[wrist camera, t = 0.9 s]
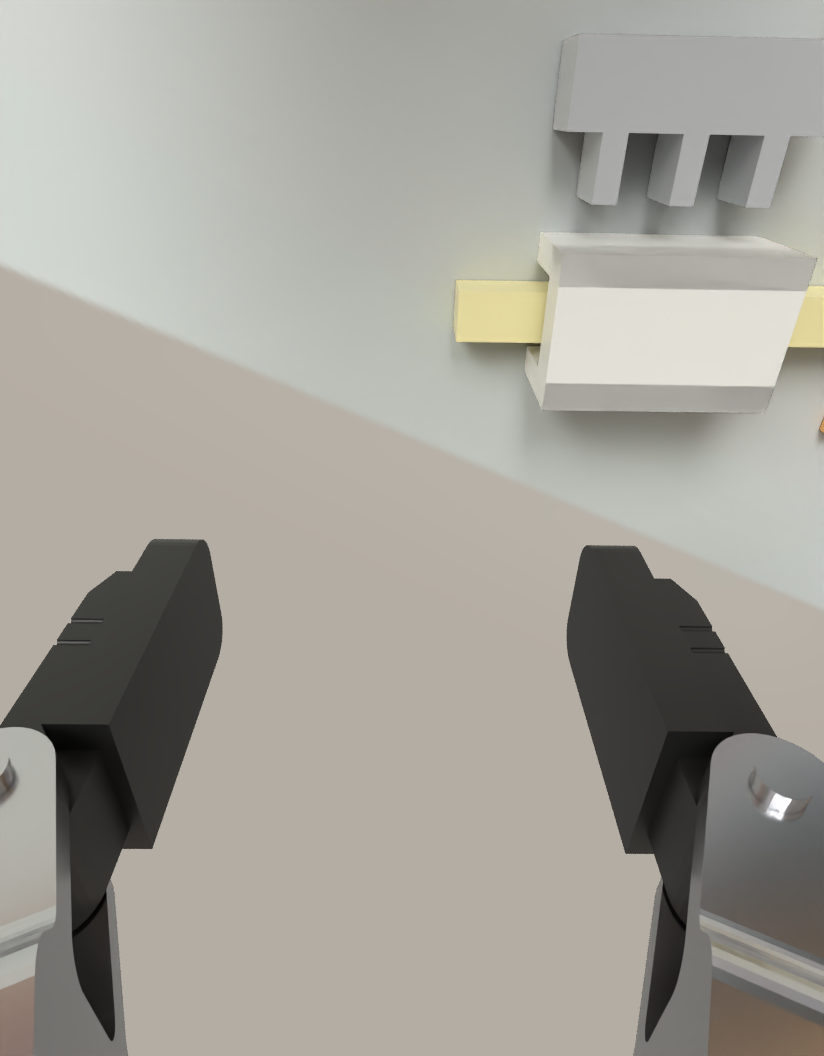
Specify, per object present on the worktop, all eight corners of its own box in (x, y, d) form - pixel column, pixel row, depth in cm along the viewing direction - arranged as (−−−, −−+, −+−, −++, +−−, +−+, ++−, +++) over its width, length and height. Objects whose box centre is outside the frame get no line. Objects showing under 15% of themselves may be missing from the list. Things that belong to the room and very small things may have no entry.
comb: (562, 40, 21) (579, 33, 19) (812, 46, 21) (856, 39, 19) (544, 195, 23) (558, 204, 21) (768, 199, 23) (803, 208, 21)
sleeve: (540, 231, 24) (563, 253, 20) (757, 235, 24) (817, 257, 20) (524, 370, 27) (542, 410, 23) (718, 372, 27) (765, 413, 23)
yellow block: (455, 280, 25) (458, 291, 23) (1043, 289, 25) (1084, 301, 23) (453, 327, 25) (456, 341, 24) (1018, 336, 26) (1056, 351, 24)
